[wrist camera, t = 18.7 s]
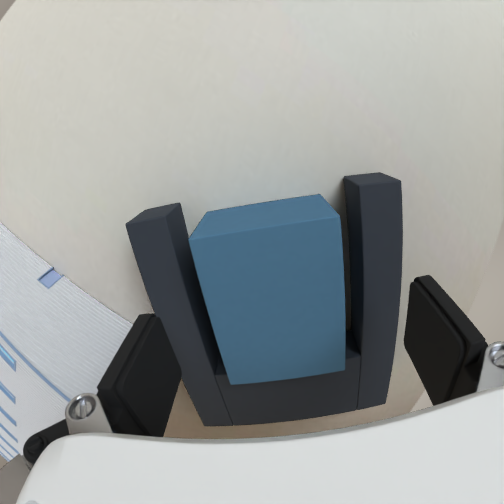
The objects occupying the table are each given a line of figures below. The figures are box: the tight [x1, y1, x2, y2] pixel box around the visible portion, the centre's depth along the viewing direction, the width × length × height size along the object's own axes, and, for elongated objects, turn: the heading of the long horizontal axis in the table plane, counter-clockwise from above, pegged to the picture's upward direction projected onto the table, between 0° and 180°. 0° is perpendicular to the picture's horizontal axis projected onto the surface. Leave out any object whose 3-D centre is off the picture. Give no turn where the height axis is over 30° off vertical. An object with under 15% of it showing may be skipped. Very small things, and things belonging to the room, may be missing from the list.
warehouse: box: [0, 222, 133, 462], centre depth 18 cm, size 30×14×8 cm, turn 145°
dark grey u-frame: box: [126, 173, 403, 426], centre depth 16 cm, size 12×14×2 cm
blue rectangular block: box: [188, 194, 346, 385], centre depth 14 cm, size 6×8×4 cm
